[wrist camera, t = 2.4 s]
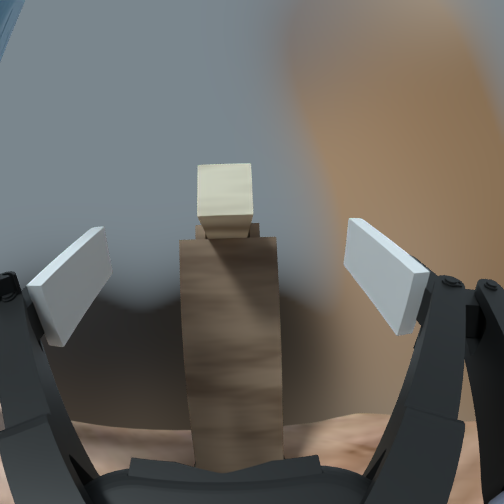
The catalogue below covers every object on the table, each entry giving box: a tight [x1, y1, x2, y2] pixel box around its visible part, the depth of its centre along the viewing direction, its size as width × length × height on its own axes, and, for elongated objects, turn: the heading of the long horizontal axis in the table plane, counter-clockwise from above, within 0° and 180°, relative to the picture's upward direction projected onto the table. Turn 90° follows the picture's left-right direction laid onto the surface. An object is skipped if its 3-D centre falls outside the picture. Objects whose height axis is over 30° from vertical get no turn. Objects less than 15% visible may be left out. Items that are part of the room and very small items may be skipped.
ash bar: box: [197, 163, 253, 239], centre depth 32 cm, size 22×4×4 cm, turn 3°
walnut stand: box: [179, 223, 285, 473], centre depth 34 cm, size 12×12×32 cm
